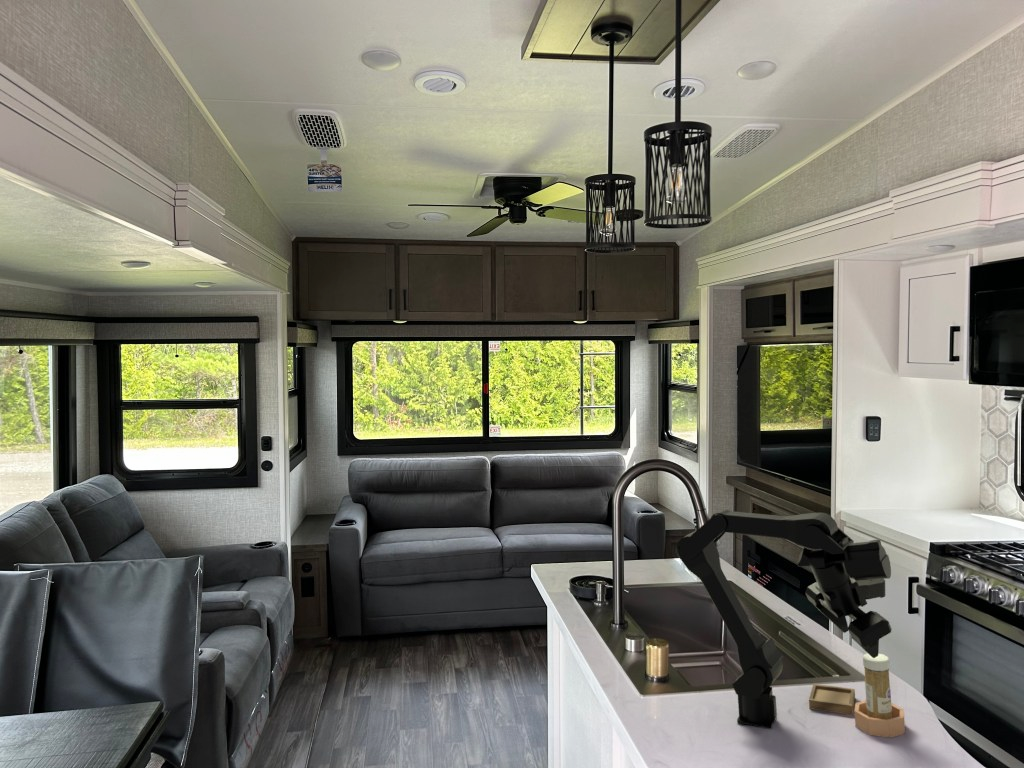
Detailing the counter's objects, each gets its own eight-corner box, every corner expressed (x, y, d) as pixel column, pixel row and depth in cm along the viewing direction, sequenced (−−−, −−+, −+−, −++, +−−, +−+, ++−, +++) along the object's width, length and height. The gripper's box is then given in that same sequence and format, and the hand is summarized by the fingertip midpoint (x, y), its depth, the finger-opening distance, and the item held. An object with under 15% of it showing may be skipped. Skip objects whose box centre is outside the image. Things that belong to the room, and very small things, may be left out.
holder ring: (854, 732, 141) (853, 716, 141) (857, 712, 149) (856, 697, 149) (904, 739, 137) (903, 723, 137) (904, 719, 145) (903, 704, 145)
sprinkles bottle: (892, 733, 140) (888, 662, 140) (865, 729, 142) (861, 659, 142) (893, 722, 144) (889, 653, 144) (867, 718, 146) (863, 650, 146)
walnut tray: (809, 708, 152) (808, 699, 152) (813, 692, 159) (813, 683, 159) (852, 714, 148) (852, 705, 148) (855, 697, 155) (854, 689, 155)
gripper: (902, 580, 131) (930, 649, 135) (840, 538, 149) (865, 600, 153) (848, 611, 131) (877, 679, 134) (792, 565, 149) (819, 627, 152)
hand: (860, 643), depth 144 cm, fingers open, 9 cm apart
